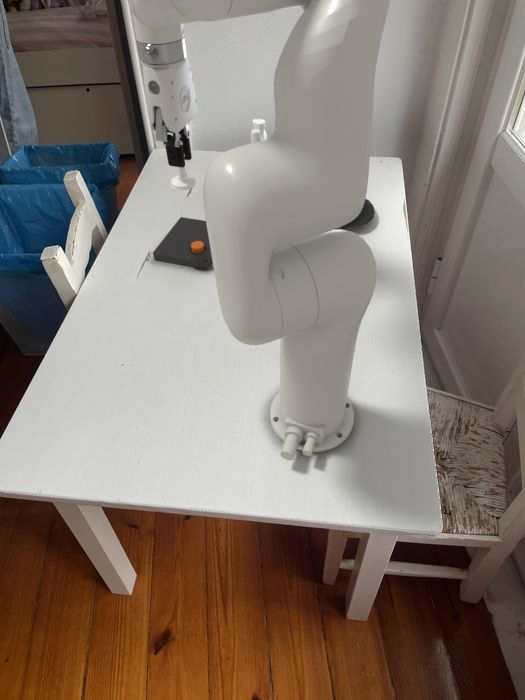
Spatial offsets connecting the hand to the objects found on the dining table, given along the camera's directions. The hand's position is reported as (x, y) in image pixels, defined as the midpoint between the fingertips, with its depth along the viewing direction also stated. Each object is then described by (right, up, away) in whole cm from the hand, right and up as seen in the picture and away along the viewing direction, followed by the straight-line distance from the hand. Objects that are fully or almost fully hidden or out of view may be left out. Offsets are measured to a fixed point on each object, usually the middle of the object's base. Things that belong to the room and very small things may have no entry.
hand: (180, 161), depth 90 cm
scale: (+1, -13, +14) cm, 19 cm away
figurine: (+15, +8, +33) cm, 37 cm away
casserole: (+28, -4, +21) cm, 36 cm away
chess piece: (0, -3, +3) cm, 5 cm away
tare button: (+2, -15, +8) cm, 17 cm away
